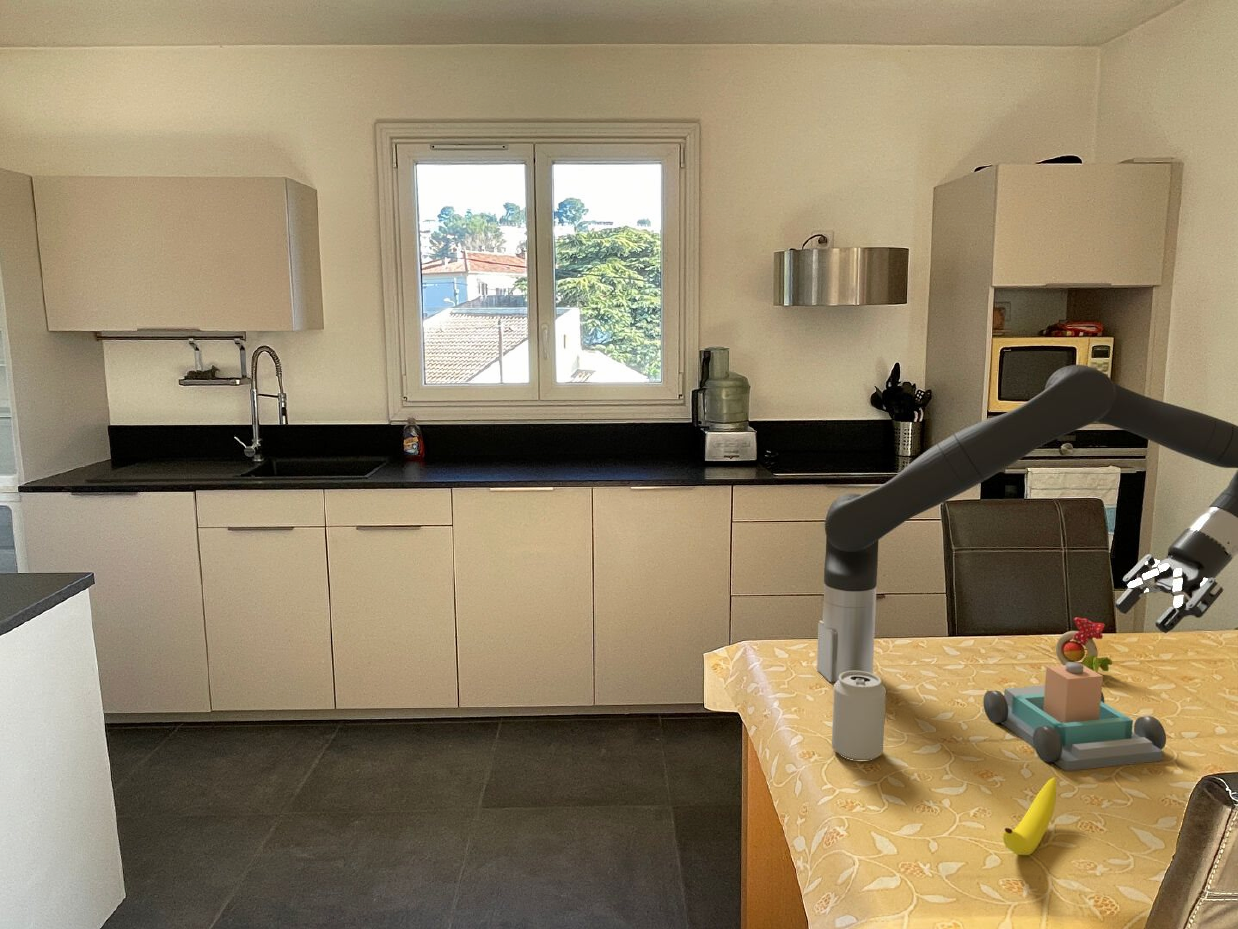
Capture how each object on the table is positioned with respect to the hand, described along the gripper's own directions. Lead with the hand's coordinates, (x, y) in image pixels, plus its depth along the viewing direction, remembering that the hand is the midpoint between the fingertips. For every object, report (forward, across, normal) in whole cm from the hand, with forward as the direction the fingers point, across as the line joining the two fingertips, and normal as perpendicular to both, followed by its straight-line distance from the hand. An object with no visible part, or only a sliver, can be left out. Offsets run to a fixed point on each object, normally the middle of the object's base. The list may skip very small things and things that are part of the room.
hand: (1139, 619), depth 140 cm
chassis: (+21, +1, +4) cm, 21 cm away
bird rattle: (+9, -20, +18) cm, 28 cm away
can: (+45, 0, -21) cm, 50 cm away
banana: (+37, +26, -14) cm, 47 cm away
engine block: (+20, +1, +3) cm, 20 cm away
